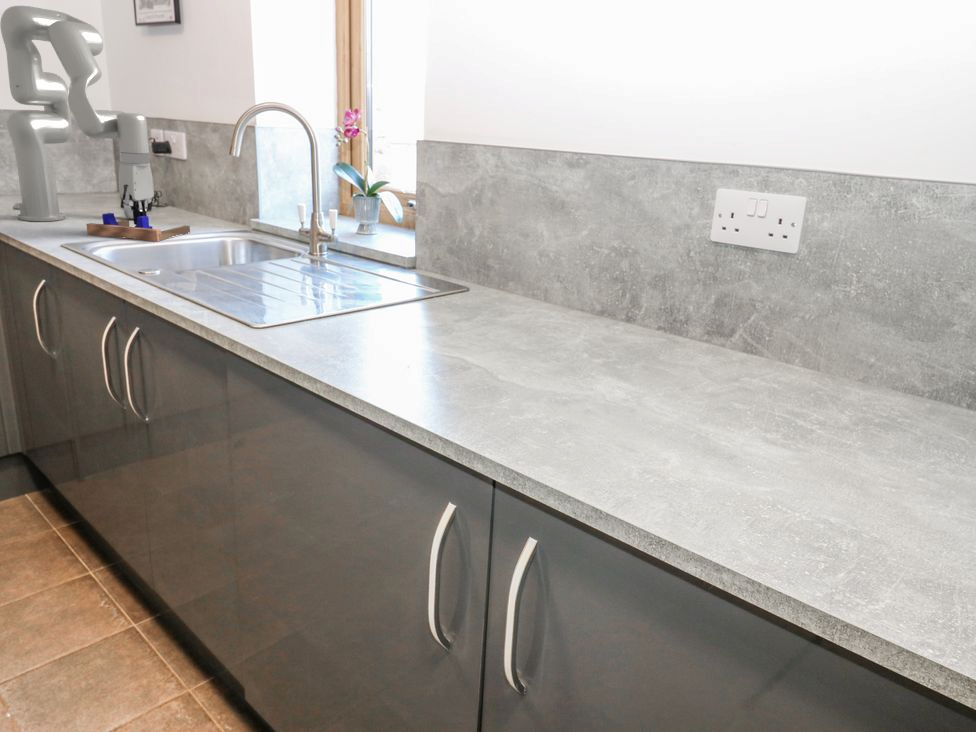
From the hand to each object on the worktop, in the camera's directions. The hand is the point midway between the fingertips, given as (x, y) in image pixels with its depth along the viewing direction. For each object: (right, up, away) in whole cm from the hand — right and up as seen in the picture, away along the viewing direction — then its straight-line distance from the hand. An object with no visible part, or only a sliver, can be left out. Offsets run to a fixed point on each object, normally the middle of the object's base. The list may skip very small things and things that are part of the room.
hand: (140, 224), depth 214 cm
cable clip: (-2, -4, -3) cm, 6 cm away
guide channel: (0, -2, +1) cm, 3 cm away
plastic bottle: (-13, +6, +23) cm, 27 cm away
